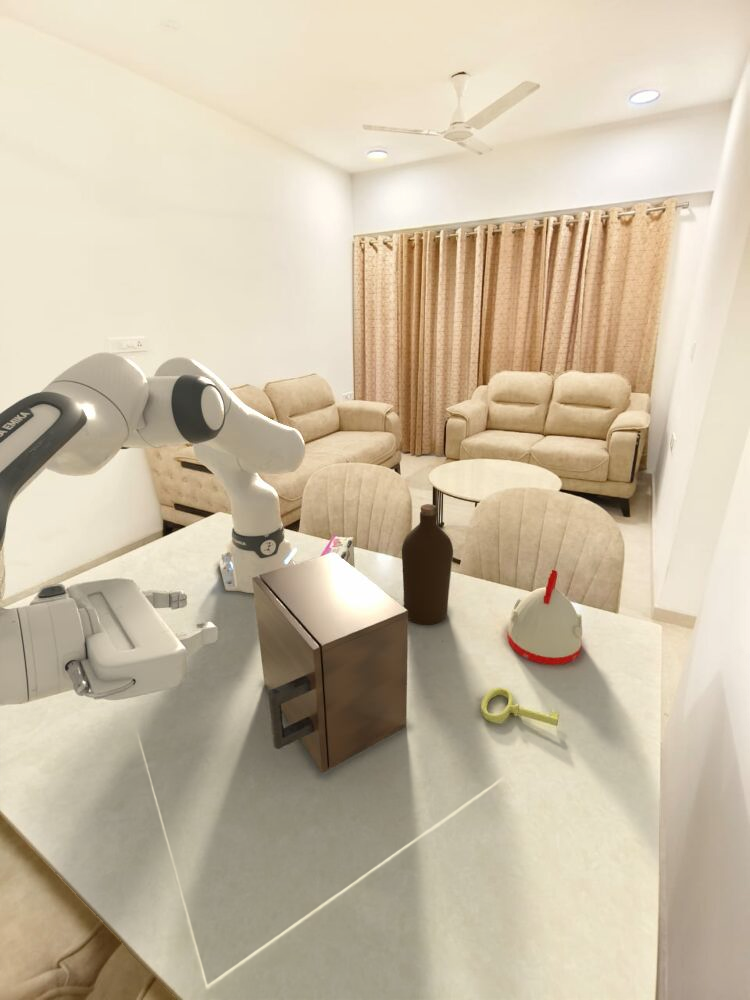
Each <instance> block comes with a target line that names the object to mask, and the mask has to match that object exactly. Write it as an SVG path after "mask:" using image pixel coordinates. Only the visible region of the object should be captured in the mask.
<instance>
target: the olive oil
mask: <svg viewBox="0 0 750 1000" xmlns="http://www.w3.org/2000/svg"><path fill="white" fill-rule="evenodd" d="M437 519H438V512H437V506H436V505H435V504H429V503H427V504H426V503H425V504H422V505H421V506H420V512H419V523H418V525H416V526H415V527H414V528H413V529H412V530H410V531H409V532H408V533H407V534H406V536H405V537H404V539H403V542H402V545H401V567H402V586H403V607H404V608H405V609H407V610H408V621H411V622H412V623H415V624H418V625H425V626H426V625H435V624H438V623H440V622H442V621H444V620H445V619H446V617H447V616H448V608H449V607H448V605H449V598H450V597H449V596H450V586H451V576H452V568H453V567H452V566H453V558H454V547H453V543H452V540H451V538H450V536H449V535H448V534H447V533H446V531H444V530H443V529H442V528H441V527H440V526H439V525H438V524H437V521H438V520H437Z"/></svg>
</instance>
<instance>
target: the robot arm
mask: <svg viewBox="0 0 750 1000" xmlns="http://www.w3.org/2000/svg"><path fill="white" fill-rule="evenodd" d="M188 444H193V445H192V446H193V453H194V455H195V458H196V459H197V461H198V462H199V463H200V464H201V465H202V466H204V467H206V468H207V470H208V471H210V472H211V473H212V475H214V477H215V478H216V479H217V480H218V482H219V483H220V485H221V486H222V488H223V490H224V492H225V494H226V496H227V500H228V503H229V507H230V512H231V513H230V514H231V519H232V526H233V527H232V529H231V540H230V542H228V543H227V544H226V546H225V547H226V552H225V553H221V559H220V560H219V561H218V562H219V563H218V565H219V566H218V567H219V569H220V573H221V574H220V575H221V578H222V581H223V585H224V590H225V591H227V592H241V593H246V594H247V593H248V594H254V591H253V582H252V578H253V577H257V576H258V577H259V575H261V574H264V573H267V572H270V571H274V570H277V569H280V568H284V567H287V566H290V565H294V564H297V563H296V562H295V561H294V560H293V556H295V554H296V553H297V548H296V547H295V548H294V549H293V550H292V548H291V547H292V546H291V543H290V541H289V540H287V538H285V527H284V523H283V522H282V517H281V505H280V497H279V494H278V492H277V491H276V490H275V488H274V487H273V486H271V485H269V484H268V483H267V482H265V480H263V479H262V478H261V476H259V474H263V475H281V474H288V473H294V472H296V471H297V470H298V469H299V468H300V467H301V465H302V463H303V462H304V459H305V456H306V455H305V454H306V444H305V441H304V439H303V436H302V434H301V433H300V432H299V431H298V430H297V429H296V428H293V427H290V426H287V425H284V424H281V423H279V422H277V421H275V420H272V419H270V418H268V417H267V416H265V415H263V414H261V413H260V412H258V411H256V410H254V409H252V408H251V407H249V406H247V405H246V404H244V403H243V402H242V400H240V399H239V398H238V396H236V395H235V394H234V392H233V391H231V390H230V388H229V387H227V385H226V384H225V383H224V381H222V380H221V379H220V378H219V377H218V376H216V374H214V373H213V372H212V371H211V370H210V369H208V368H207V367H205V366H204V365H203V364H201V363H199V362H198V361H196V360H194V359H192V358H189V357H185V356H177V357H172V358H168V359H167V360H165V361H164V362H162V363H161V364H160V365H159V366H158V367H157V369H156V371H155V373H154V375H153V376H147V377H146V375H145V373H144V371H142V369H141V368H140V367H139V366H138V365H137V364H136V363H135V362H133V361H132V360H131V359H129V358H127V357H125V356H123V355H121V354H118V353H114V352H109V351H108V352H103V351H102V352H96V353H93V354H91V355H88V356H86V357H85V358H83V359H82V360H79V361H78V362H77V363H75V364H73V365H71V366H70V367H68V368H67V369H66V370H63V372H61V373H60V374H58V375H57V377H55V378H54V379H53V380H52V381H51V382H49V383H48V384H47V386H45V387H44V388H43V389H42V390H41V391H40V392H36V393H33V394H32V393H31V394H29V395H27V396H26V397H23V398H22V399H19V400H18V401H16V402H15V403H13V404H12V405H10V406H9V407H7V408H6V409H5V410H3V411H1V412H0V707H3V706H10V705H11V706H12V705H23V704H24V705H25V704H28V703H31V702H35V701H39V700H41V699H45V698H50V697H53V696H56V695H59V694H62V693H67V692H70V691H74V692H75V694H76V695H78V696H79V697H83V696H84V697H87V698H92V699H93V700H106V701H120V700H126V699H132V698H137V697H140V696H141V697H142V696H146V695H149V694H153V693H158V692H162V691H165V690H166V691H167V690H170V689H173V688H175V687H176V688H177V687H178V686H180V685H181V683H183V681H185V680H186V678H187V676H188V658H189V657H190V656H192V655H193V654H194V653H196V652H197V651H198V650H199V649H201V648H202V647H203V646H206V645H208V644H212V643H216V642H217V641H218V639H219V629H218V627H217V626H216V625H215V624H214V623H213V621H207V622H202V623H197V624H196V629H194V630H192V631H191V632H188V633H187V634H186V633H185V632H178V633H174V631H173V630H172V629H171V627H170V626H169V625H168V624H167V622H166V621H165V619H164V618H163V617H162V616H161V614H160V613H159V612H158V611H157V609H167V608H170V609H171V611H173V610H174V611H175V610H178V609H183V608H185V607H186V606H187V604H188V600H187V599H188V595H187V594H186V593H185V591H183V590H182V589H175V590H170V591H167V590H155V589H154V590H153V589H150V590H149V589H148V590H144V591H143V590H141V588H139V586H138V584H136V582H135V581H134V580H133V579H131V578H123V577H117V578H116V577H115V578H107V579H97V580H91V581H85V582H84V581H83V582H79V583H74V584H71V585H69V586H68V587H66V585H64V584H63V583H52V584H46V585H44V586H41V588H40V589H39V590H38V592H37V594H36V595H35V597H34V599H33V600H32V601H31V602H30V603H29V605H24V606H19V607H12V608H5V607H2V606H1V605H2V602H3V600H4V597H5V594H6V593H5V592H6V565H5V538H6V530H7V521H8V515H9V512H10V510H11V506H12V505H13V503H14V501H15V500H16V499H17V498H18V497H19V496H20V494H22V493H23V492H24V491H25V490H26V489H27V488H28V487H29V486H30V485H31V484H32V483H33V482H34V481H35V480H36V479H37V478H38V477H39V476H40V475H41V474H42V473H43V472H44V471H45V470H49V471H51V472H53V473H57V474H60V475H63V476H71V477H83V476H90V475H94V474H96V473H98V472H99V471H100V470H101V469H103V468H104V467H105V466H106V465H107V464H108V463H110V462H111V460H113V458H114V457H115V456H116V455H117V454H118V453H119V451H120V450H128V449H163V448H169V447H175V446H181V445H188ZM259 578H260V577H259Z"/></svg>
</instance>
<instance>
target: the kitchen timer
mask: <svg viewBox="0 0 750 1000" xmlns="http://www.w3.org/2000/svg"><path fill="white" fill-rule="evenodd" d="M557 578H558V571H557V570H554V569H551V573H550V574H549V576H548V578H547V579H548V581H547V585H546V586H544V587H540V588H539V587H538V588H536V589H534V590H533V591H531V592H529V593H528V594H526V595H525V596H524V597H523V599H522V598H518V599H517V600H516V602H515V604H514V607H513V609H512V612H511V615H510V621H509V623H508V627H507V635H506V637H507V641H508V645H510V647H511V649H512V650H513V651H514V652H516V653H517V654H519V655H520V657H521V656H522V657H523V658H525V659H527V660H529V661H532V662H535V663H538V664H542V665H549V666H557V665H558V666H559V665H565V664H568V663H571V662H573V661H575V660H576V659H577V658H578V657H579V655H580V654H581V650H582V643H583V642H582V641H583V640H582V637H583V621H582V620H583V618H582V614H581V613H577V611H576V610H575V607H574V605H573V604H572V601H571V600H570V599H569V598H568V597H567V596H566V595H565V594H564V593H563V592H561V591H560V590H558V589H556V585H557Z"/></svg>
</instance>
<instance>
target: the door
mask: <svg viewBox="0 0 750 1000" xmlns="http://www.w3.org/2000/svg"><path fill="white" fill-rule="evenodd" d="M252 582H253V591H254V593H253V598H254V606H255V608H254V609H255V615H256V623H257V631H258V641H259V649H260V657H261V658H260V659H261V666H262V667H261V668H262V674H263V683H264V685H265V687H266V688H267V690H268V692H267V694H266V695H267V705H268V713H269V721H270V729H271V730H270V731H271V738H272V746H273V748H275V749H277V750H281V749H283V748H284V747H287V746H288V745H291V744H293V743H294V742H296V741H298V740H300V741H301V742H302V744H303V746H304V747H305V749H306V751H307V752H308V753H309V755H310V757H311V758H312V760H313V761H314V762H315V764H316V766H317V767H318V769H319V771H320V772H321V773H324V772H326V771H328V770H329V767H328V764H327V748H326V733H325V717H324V701H323V686H322V670H321V654H320V647H319V646H318V645H317V643H316V642H315V641H314V640H313V639H312V638H311V637H310V635H309V634H308V633H307V632H306V631H305V630H304V629H303V627H302V626H301V625H300V624H299V623H298V622H297V621H296V619H295V618H294V617H293V616H292V615H291V614H290V613H289V611H288V610H287V609H286V608H285V607H284V606H283V605H282V603H281V602H280V601H279V600H278V599H277V598H276V597H275V595H274V594H273V593H272V592H271V591H270V590H269V589H268V587H267V586H266V585H265V584H264V583H263V582H262V581H261V579H260V578H259V577H258V576H257V577H253V578H252ZM283 714H284V715H283ZM283 716H284V717H285V718H286V720H287V721H288V722H289V725H288V726H285V727H284V720H283Z"/></svg>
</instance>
